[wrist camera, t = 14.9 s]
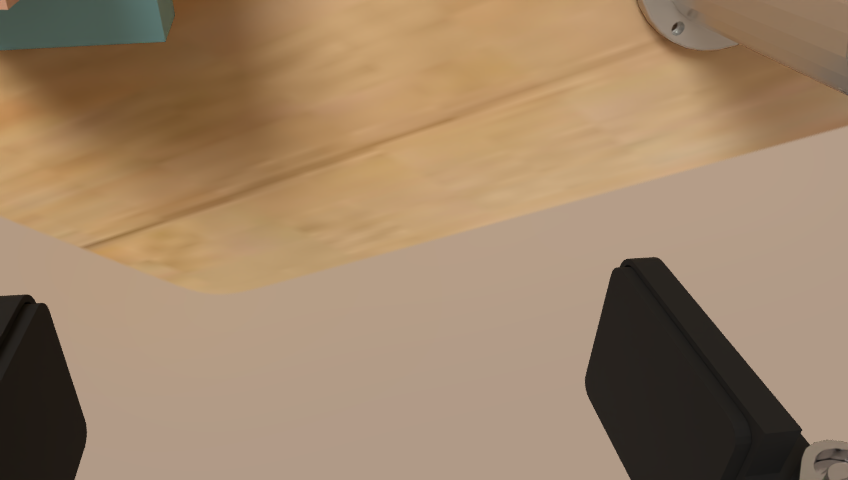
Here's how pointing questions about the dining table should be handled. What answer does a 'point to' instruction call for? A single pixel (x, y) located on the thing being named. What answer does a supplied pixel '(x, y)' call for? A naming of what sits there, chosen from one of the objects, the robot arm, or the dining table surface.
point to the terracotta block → (7, 4)
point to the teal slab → (84, 23)
